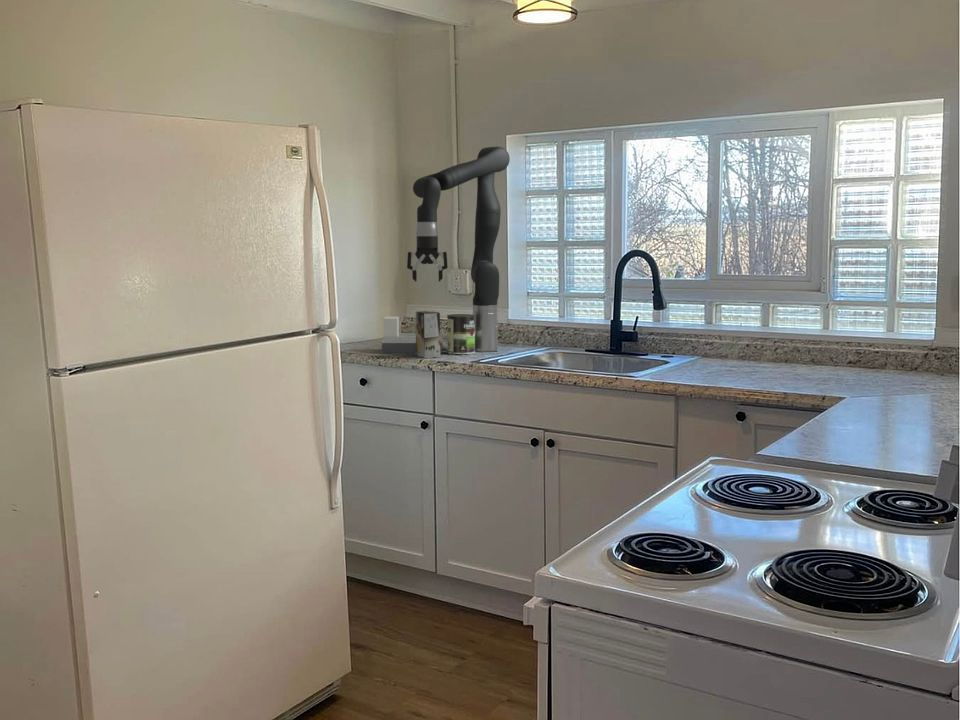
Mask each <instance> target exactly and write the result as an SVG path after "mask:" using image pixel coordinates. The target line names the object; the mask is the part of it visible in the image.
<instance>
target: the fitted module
mask: <svg viewBox="0 0 960 720" xmlns="http://www.w3.org/2000/svg"><path fill="white" fill-rule="evenodd" d="M399 324H400V317H399V316H389V315H388V316H384V317H383V337H399V333H400V325H399Z"/></svg>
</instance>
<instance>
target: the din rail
mask: <svg viewBox="0 0 960 720" xmlns="http://www.w3.org/2000/svg"><path fill="white" fill-rule="evenodd" d="M442 340H443V341H444V339H443V332H440V343H442ZM382 343H416V332H414V333H413V332H408V333H406V332H405V333H404V332H399V337H384V336H382V337H381V344H382Z"/></svg>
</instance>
